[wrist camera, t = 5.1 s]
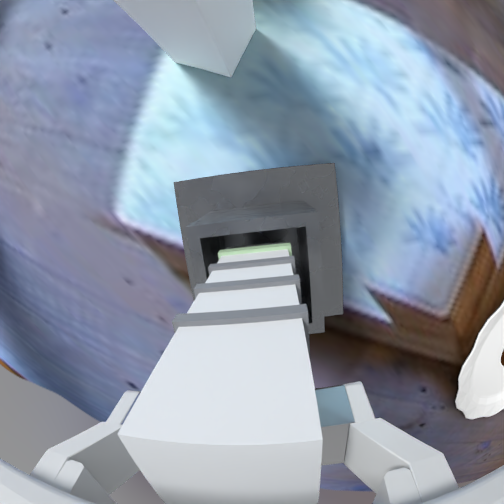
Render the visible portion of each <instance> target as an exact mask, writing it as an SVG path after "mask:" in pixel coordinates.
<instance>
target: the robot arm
mask: <svg viewBox="0 0 504 504" xmlns="http://www.w3.org/2000/svg"><path fill="white" fill-rule="evenodd" d="M140 393H141V392H138V391H130V390H128V391H126V392H125V393H124V394H123V396H122V397H121V399H120V400H119V402H118V404H117V405H116V407H115V408H114V410H113V412H112V413H111V415H110V416H109V418H108V420H107V421H106V422H100V423H98V424H97V425H95V426H93V427H91V428H89V429H87V430H85V431H83V432H82V433H80V434H78V435H76V436H74V437H72V438H70V439H68V440H66V441H64V442H62V443H60V444H58V445H56V446H54V447H52V448H50V449H48V450H47V451H46V453H45V454H44V455H43V457H42V458H41V460H40V461H39V462H38V464H37V465H36V467H35V468H34V470H33V471H32V473H31V474H30V475H28V474H26V473H25V472H23V471H21V470H19V469H18V468H16V467H14V466H12V465H11V464H9V463H7V462H6V461H4V460H2V459H1V458H0V504H117V503H116V502H115V501H114V500H113V499H112V498H111V496H110V495H109V494H111V493H112V492H114V491H115V490H116V489H117V488H119V487H120V486H121V485H122V484H124V483H125V482H126V481H127V480H129V479H130V478H131V477H132V476H133V475H135V474H136V473H137V472H138V471H139V470H140V469H139V468H138V466H137V465H136V463H135V462H134V460H133V459H132V457H131V456H130V454H129V452H128V451H127V449H126V448H125V446H124V444H123V443H122V441H121V439H120V438H119V436H118V432H119V430H120V429H121V427H122V425H123V423H124V421H125V420H126V418H127V416H128V414H129V412H130V411H131V409H132V407H133V405H134V404H135V402H136V400H137V398H138V396H139V395H140ZM315 394H316V400H317V406H318V412H319V418H320V425H321V431H322V438H323V444H322V461H321V465H330V464H337V463H344V464H345V465H346V466H347V467H348V468H349V469H350V470H351V471H352V472H353V473H354V474H355V475H356V476H357V477H358V478H360V479H361V480H362V481H363V482H364V483H365V484H366V485H367V486H368V487H369V488H370V489H372V490H373V491H374V492H375V493H376V496H375V499H374V501H373V503H372V504H504V465H503V466H502V467H500V468H498V469H496V470H495V471H493V472H491V473H489V474H487V475H486V476H484V477H482V478H480V479H478V480H476V481H474V482H472V483H470V484H468V485H465V486H463V487H461V488H459V487H458V485H457V483H456V480H455V478H454V476H453V474H452V472H451V469H450V467H449V465H448V463H447V461H446V459H445V457H444V455H443V453H441V452H439V451H438V450H436V449H434V448H432V447H430V446H428V445H427V444H425V443H423V442H421V441H419V440H418V439H416V438H414V437H412V436H411V435H409V434H407V433H405V432H404V431H402V430H400V429H399V428H397V427H395V426H394V425H392V424H390V423H388V422H387V421H385V420H384V419H382V418H377V419H376V418H375V416H374V413H373V410H372V408H371V405H370V402H369V400H368V397H367V394H366V392H365V389H364V387H363V384H362V383H361V382H360V381H359V382H353V383H348V384H343V385H338V386H331V387H324V388H316V389H315Z"/></svg>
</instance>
